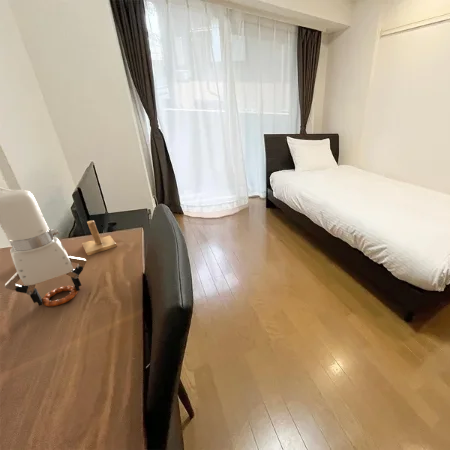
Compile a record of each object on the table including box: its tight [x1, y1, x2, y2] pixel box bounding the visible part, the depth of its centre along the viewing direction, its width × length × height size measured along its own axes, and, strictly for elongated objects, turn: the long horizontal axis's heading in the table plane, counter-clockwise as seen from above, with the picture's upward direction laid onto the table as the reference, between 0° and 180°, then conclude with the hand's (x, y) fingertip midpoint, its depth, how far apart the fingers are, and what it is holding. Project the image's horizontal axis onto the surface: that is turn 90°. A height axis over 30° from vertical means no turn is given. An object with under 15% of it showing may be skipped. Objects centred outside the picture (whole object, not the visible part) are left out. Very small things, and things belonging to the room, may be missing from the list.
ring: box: [41, 285, 79, 308], centre depth 75 cm, size 8×8×1 cm
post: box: [81, 220, 118, 256], centre depth 98 cm, size 9×9×10 cm
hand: (59, 295), depth 75 cm, fingers closed on ring, 7 cm apart
